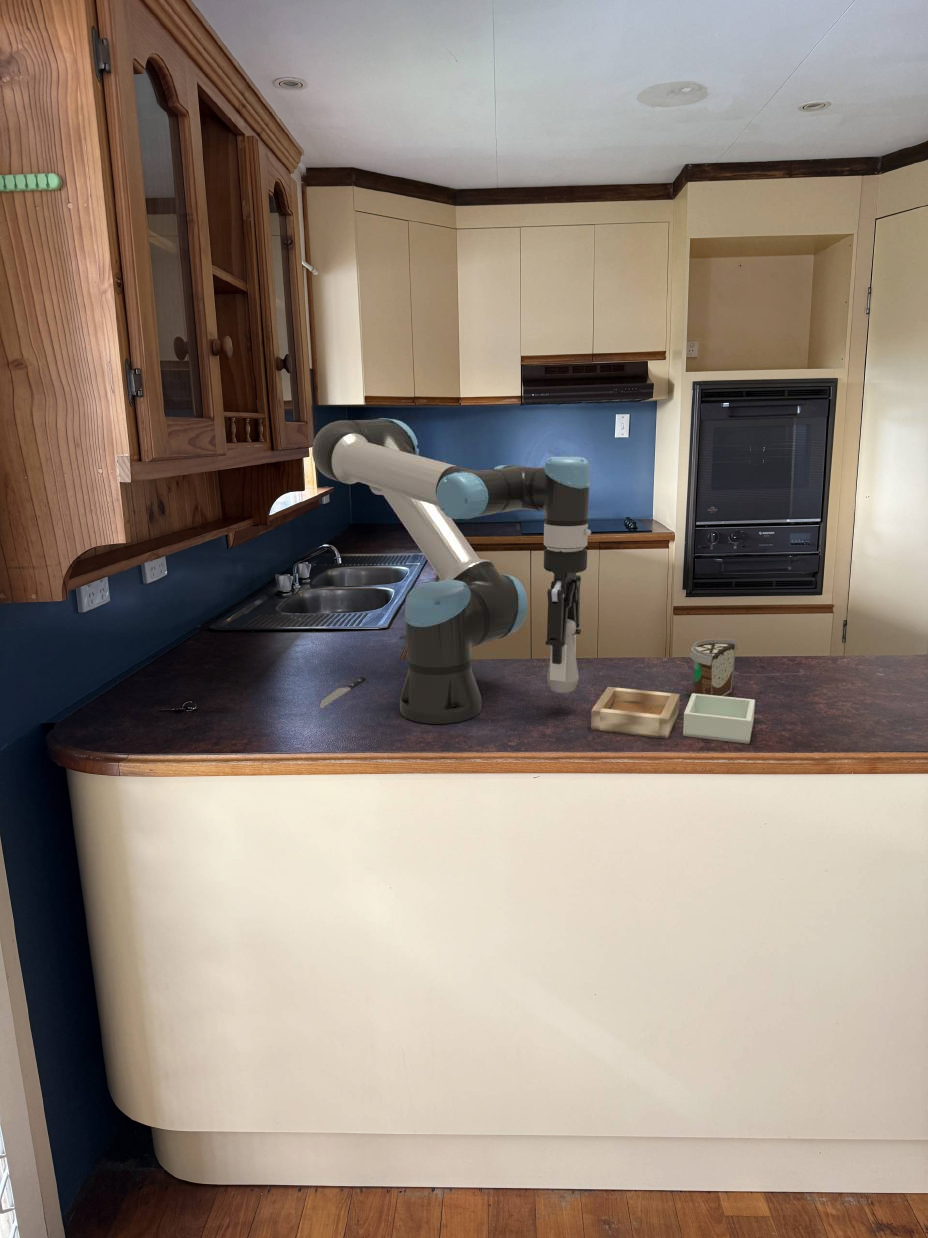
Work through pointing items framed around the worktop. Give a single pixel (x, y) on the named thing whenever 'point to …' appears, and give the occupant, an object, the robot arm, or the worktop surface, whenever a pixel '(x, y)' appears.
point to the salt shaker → (567, 664)
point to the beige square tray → (635, 713)
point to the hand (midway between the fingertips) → (562, 674)
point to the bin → (719, 718)
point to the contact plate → (637, 708)
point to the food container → (713, 666)
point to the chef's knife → (340, 692)
